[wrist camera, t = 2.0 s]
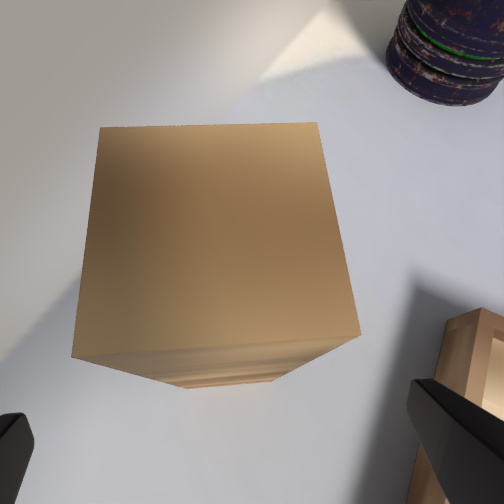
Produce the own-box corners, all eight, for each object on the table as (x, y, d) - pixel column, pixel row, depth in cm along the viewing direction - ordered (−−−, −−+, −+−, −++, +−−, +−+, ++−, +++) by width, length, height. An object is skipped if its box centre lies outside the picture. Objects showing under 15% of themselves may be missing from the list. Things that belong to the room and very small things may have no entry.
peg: (271, 381, 18) (361, 334, 5) (186, 388, 18) (71, 357, 5) (263, 300, 20) (316, 122, 7) (186, 305, 20) (99, 127, 7)
